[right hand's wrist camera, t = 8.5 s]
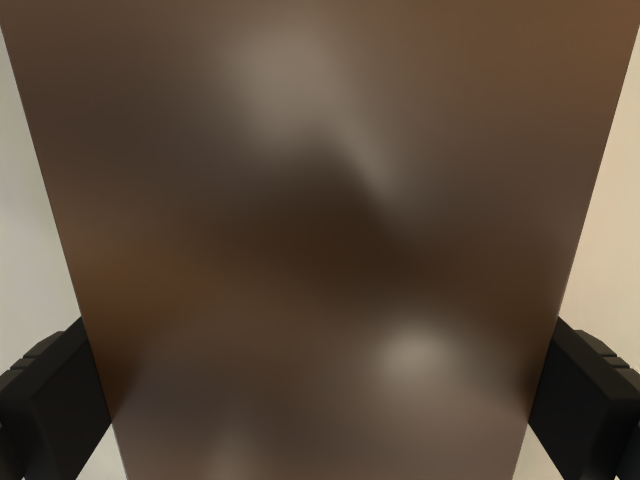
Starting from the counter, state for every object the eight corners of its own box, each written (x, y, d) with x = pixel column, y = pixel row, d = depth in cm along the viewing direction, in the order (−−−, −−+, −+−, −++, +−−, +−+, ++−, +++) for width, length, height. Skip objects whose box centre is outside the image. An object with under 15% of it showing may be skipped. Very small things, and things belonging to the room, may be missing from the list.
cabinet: (162, -189, 13) (-294, -1011, 3) (477, -188, 13) (933, -1006, 3) (220, 317, 21) (134, 510, 11) (418, 316, 21) (504, 510, 11)
